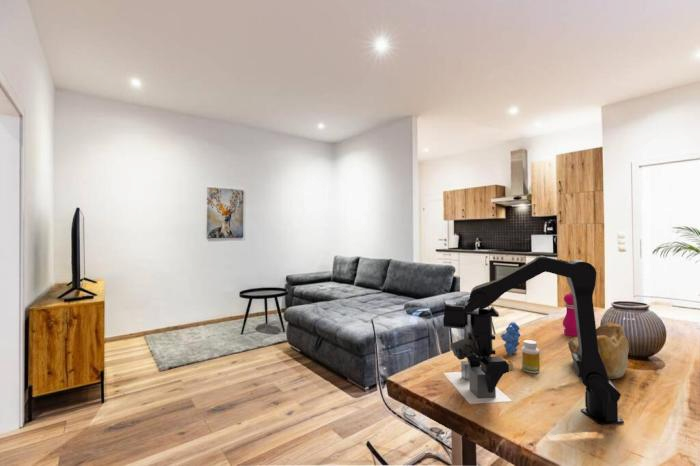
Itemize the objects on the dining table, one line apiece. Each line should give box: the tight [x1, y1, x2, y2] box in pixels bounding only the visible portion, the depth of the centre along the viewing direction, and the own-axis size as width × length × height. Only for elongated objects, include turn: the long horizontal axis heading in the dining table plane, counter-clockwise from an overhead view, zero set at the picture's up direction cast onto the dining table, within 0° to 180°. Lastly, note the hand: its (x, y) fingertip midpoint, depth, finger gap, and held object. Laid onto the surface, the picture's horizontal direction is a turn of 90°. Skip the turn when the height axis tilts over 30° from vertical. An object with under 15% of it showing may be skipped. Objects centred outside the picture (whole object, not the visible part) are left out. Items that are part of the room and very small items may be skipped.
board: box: [443, 371, 513, 405], centre depth 101 cm, size 20×12×1 cm, turn 5°
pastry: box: [502, 358, 515, 372], centre depth 115 cm, size 9×7×4 cm
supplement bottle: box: [521, 339, 541, 374], centre depth 114 cm, size 5×5×10 cm
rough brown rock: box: [567, 321, 630, 380], centre depth 115 cm, size 23×17×15 cm
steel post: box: [460, 360, 470, 380], centre depth 106 cm, size 3×3×5 cm
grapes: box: [500, 321, 521, 356], centre depth 130 cm, size 12×7×12 cm, turn 136°
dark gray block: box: [469, 366, 497, 399], centre depth 96 cm, size 5×5×7 cm
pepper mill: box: [562, 289, 578, 337], centre depth 151 cm, size 7×7×20 cm
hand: (482, 384), depth 96 cm, fingers open, 9 cm apart
